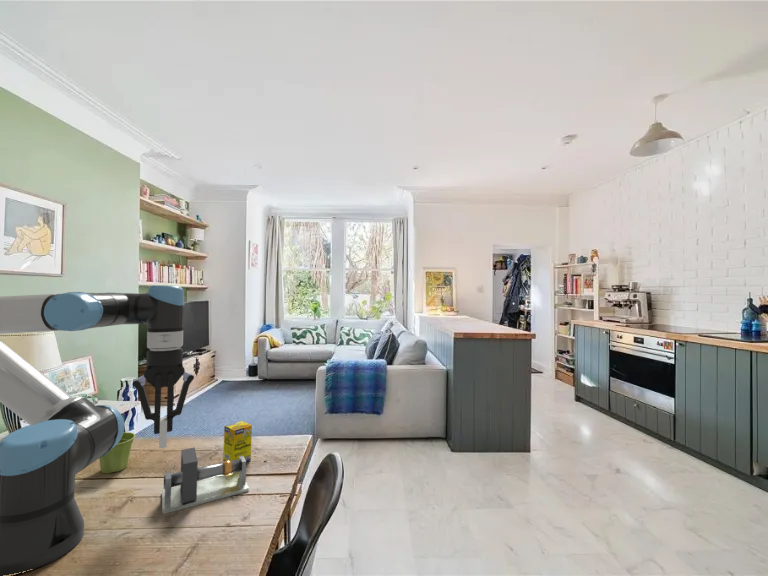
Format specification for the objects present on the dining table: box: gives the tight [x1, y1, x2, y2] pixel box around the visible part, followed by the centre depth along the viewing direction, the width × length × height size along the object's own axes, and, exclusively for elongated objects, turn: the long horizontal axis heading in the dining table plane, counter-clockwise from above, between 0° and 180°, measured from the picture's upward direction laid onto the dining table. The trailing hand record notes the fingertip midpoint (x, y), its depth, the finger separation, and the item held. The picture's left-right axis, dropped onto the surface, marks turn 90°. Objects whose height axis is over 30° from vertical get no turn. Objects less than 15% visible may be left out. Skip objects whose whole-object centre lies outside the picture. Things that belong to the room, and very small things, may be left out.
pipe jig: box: [161, 456, 250, 515], centre depth 90 cm, size 19×10×7 cm, turn 123°
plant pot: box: [98, 432, 136, 474], centre depth 102 cm, size 9×9×9 cm
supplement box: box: [222, 420, 253, 463], centre depth 107 cm, size 6×6×11 cm
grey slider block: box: [179, 447, 199, 503], centre depth 88 cm, size 3×9×9 cm, turn 32°
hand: (162, 445), depth 85 cm, fingers closed
